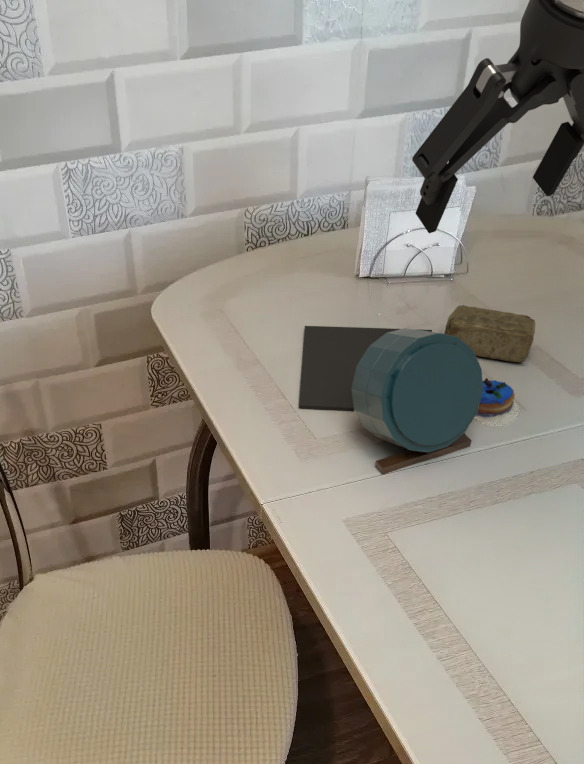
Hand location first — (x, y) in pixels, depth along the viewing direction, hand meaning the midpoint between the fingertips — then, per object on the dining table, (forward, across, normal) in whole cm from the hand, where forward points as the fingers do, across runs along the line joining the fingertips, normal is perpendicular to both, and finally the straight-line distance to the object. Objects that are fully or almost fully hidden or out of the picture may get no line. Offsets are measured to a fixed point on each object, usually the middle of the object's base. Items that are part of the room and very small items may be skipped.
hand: (485, 204), depth 78 cm
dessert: (+26, +4, -11) cm, 28 cm away
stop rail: (+23, -8, -15) cm, 28 cm away
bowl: (+15, -6, -11) cm, 20 cm away
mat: (+31, -3, +3) cm, 31 cm away
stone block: (+32, +13, 0) cm, 34 cm away
